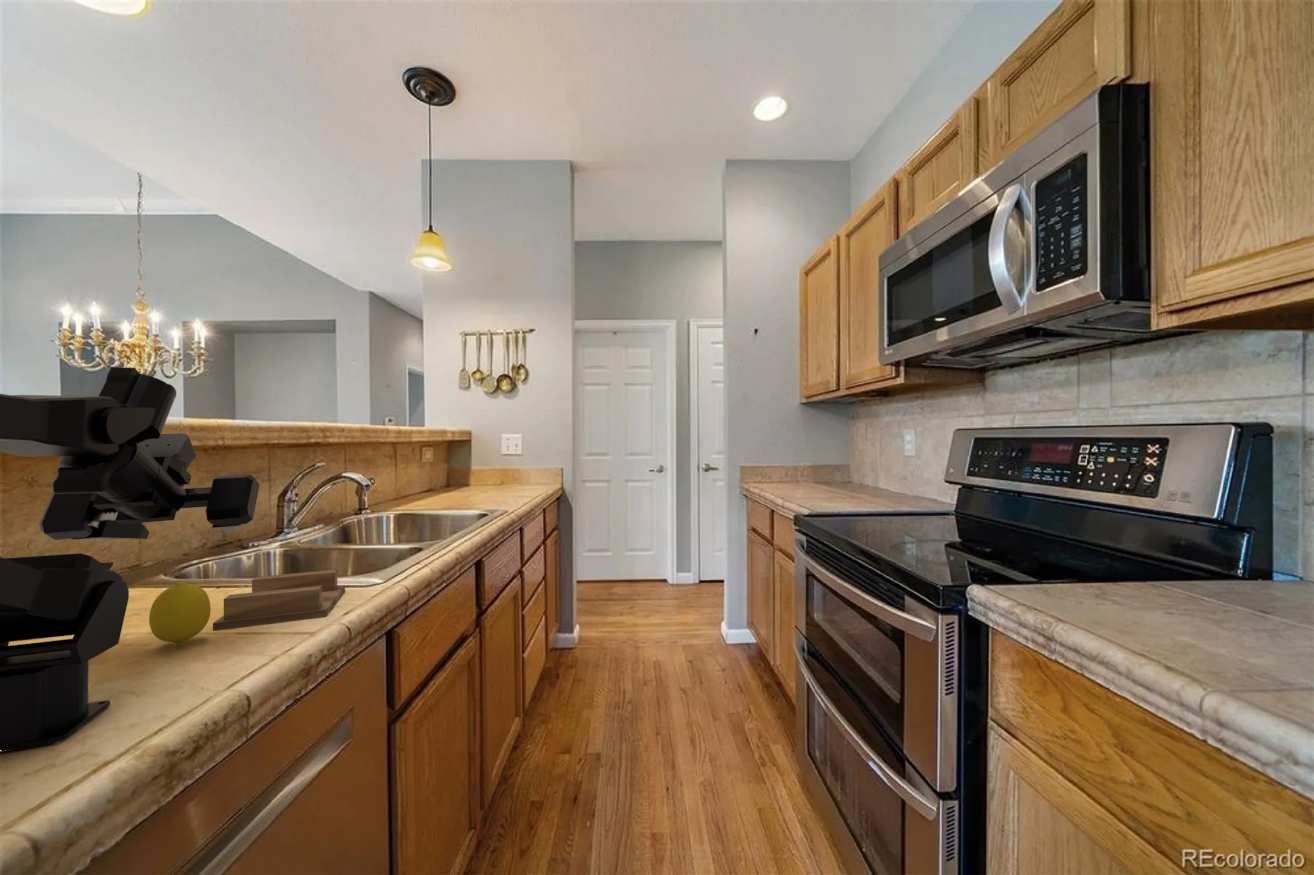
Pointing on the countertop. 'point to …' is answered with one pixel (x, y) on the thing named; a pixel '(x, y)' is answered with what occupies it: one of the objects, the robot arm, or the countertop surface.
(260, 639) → the countertop surface
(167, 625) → the lemon
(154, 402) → the robot arm
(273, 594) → the cradle
